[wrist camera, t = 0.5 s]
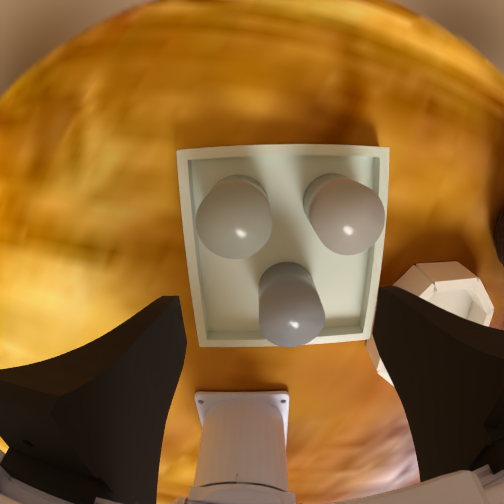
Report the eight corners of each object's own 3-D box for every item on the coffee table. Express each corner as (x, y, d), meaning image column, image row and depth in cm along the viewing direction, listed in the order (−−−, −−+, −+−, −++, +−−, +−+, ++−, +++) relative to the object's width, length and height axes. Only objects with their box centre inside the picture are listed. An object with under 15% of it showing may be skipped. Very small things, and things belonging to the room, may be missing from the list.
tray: (363, 326, 22) (369, 339, 21) (202, 333, 22) (199, 346, 21) (379, 146, 17) (389, 147, 16) (182, 149, 18) (176, 150, 16)
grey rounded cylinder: (312, 309, 21) (322, 345, 17) (259, 311, 21) (259, 348, 17) (314, 260, 20) (327, 290, 16) (257, 262, 20) (257, 293, 16)
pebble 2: (358, 230, 19) (381, 254, 15) (302, 232, 19) (314, 256, 15) (361, 173, 18) (387, 183, 14) (302, 172, 18) (315, 182, 14)
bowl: (454, 357, 24) (468, 377, 21) (359, 373, 24) (368, 398, 21) (483, 259, 20) (504, 274, 17) (378, 265, 20) (394, 285, 17)
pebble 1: (269, 233, 19) (273, 258, 15) (210, 235, 19) (199, 260, 15) (268, 173, 18) (271, 183, 14) (205, 176, 18) (192, 187, 14)
